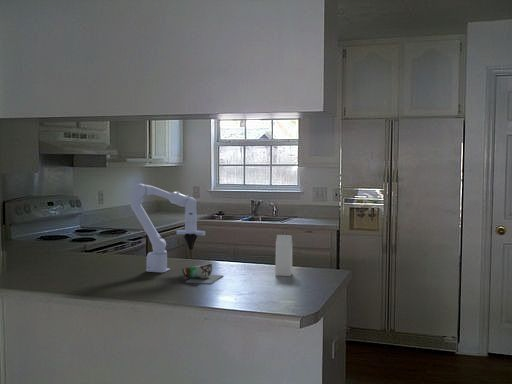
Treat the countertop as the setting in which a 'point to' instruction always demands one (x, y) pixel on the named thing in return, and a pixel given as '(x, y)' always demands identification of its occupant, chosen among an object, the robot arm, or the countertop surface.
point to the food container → (198, 271)
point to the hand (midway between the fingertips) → (191, 249)
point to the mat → (208, 280)
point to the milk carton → (283, 255)
